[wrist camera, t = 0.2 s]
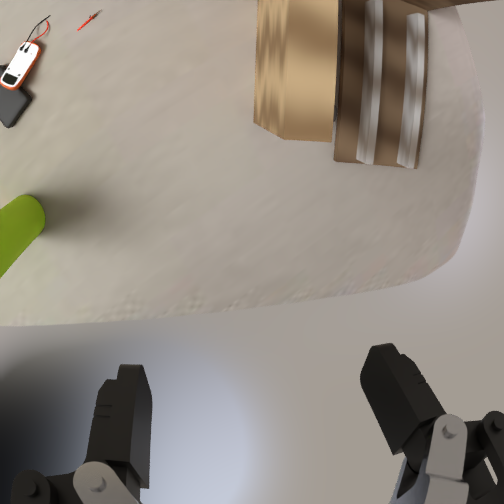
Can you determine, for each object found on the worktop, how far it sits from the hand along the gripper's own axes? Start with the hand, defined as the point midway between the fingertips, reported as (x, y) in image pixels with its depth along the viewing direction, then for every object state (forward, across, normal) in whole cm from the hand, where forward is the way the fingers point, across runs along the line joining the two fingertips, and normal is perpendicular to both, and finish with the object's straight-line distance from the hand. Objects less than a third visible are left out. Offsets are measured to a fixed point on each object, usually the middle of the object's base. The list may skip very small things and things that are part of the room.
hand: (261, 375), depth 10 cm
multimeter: (+29, +22, -17) cm, 41 cm away
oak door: (+28, -6, -13) cm, 32 cm away
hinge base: (+28, -20, -13) cm, 37 cm away
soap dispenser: (+28, +26, +4) cm, 38 cm away
